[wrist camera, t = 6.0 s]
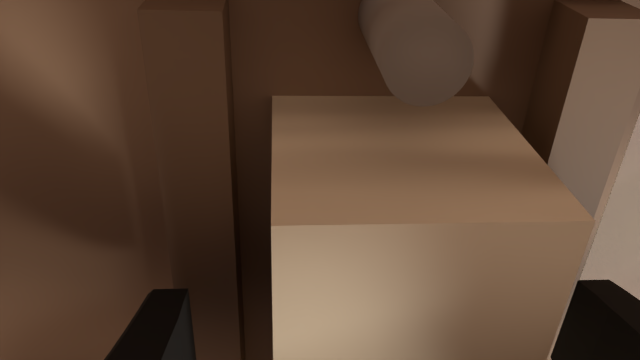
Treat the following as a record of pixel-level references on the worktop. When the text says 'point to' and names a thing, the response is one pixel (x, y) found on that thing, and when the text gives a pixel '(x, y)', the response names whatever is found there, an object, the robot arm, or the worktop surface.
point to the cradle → (250, 138)
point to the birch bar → (415, 232)
